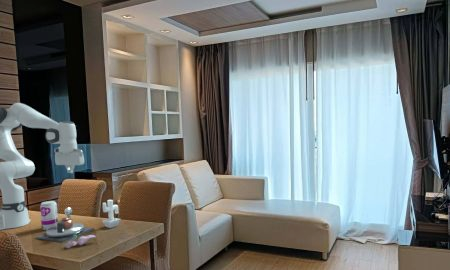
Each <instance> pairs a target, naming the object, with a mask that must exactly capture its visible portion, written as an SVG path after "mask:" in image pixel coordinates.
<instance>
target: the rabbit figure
mask: <svg viewBox="0 0 450 270" xmlns="http://www.w3.org/2000/svg"><path fill="white" fill-rule="evenodd" d="M73 236H74V237H73V238H72V239H70V240H68V241H67V243H64V242H63V244H62V245H61V247H62V250H64V247H65V248H66V249H67V250H68V249H70V248H72V247H75V246H76V245H78V246H83V245H84V244H86V243H87V241H89V240H90V239H92V238H96V235H94V234H89V235H86V236H83V235H81V236H79V238H78V236H77V235H73ZM77 238H78V239H77ZM76 239H77V241H75V240H76Z"/></svg>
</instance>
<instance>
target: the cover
mask: <svg viewBox="0 0 450 270" xmlns="http://www.w3.org/2000/svg"><path fill="white" fill-rule="evenodd" d="M58 222H64V230H67V229H71V228H72V227H73V223H74V222H73V219H72V218H71V219H68V218H67V217H63V218H61V219H59V220H58Z"/></svg>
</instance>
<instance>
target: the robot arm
mask: <svg viewBox="0 0 450 270" xmlns="http://www.w3.org/2000/svg"><path fill="white" fill-rule="evenodd" d="M23 126H25V127H27V128H31V129H45V130H46V132H45V135H44V137H45V140H46V141H47V143H49V144H52V145H56V144H59V146H58V147H56V148H53V149H54V153H55V154H54V163H55V165H56V166H65V169H66V170H67V173H68V174H73V173H74V170H75V166H82V165H84V164H85V157H84V152H83V150H82V149H81V148H78V143H77V129H76V127H77V126H76V125H75V123H74V121H67V120H63V121H62V120H61V121H60V122H58V121H56V120H54V119H53V118H51V117H48V116H46V115H44V114H42V113H41V112H39V111H37V110H36V109H34V108H32V107H31V106H29V105H27V104H25V103H22V102H15V103H13V104H12V105H11V106H10V107H9V108H5V107H0V159H1V160H4V161H0V191H1V198H2V199H1V200H2V203H0V231H2V230H8V229H14V228H20V227H23V226H24V227H25V226H27V225H28V224H30V222H31V221H32V220H31V219H30V215H29V211H28V208H27V207H26V206H27V203H26V200H25V190H24V187H23V186H21V185H19V184H17V183H16V184H15V182H14V179H15V180H17V179H22V178H26V177H30V176H32V175H33V174H34V172H35V170H36V167H35V164H34V162H33V161H32V160H30V159H28V158H26V157H25V156H23V155H22V154H21V153H20V152H19V151H18V150H17V147H16V145H15V143H14V140H13V138H12V133H11V132H15V131H17V130H19V129H20V128H22V127H23Z"/></svg>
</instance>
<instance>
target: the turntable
mask: <svg viewBox="0 0 450 270" xmlns="http://www.w3.org/2000/svg"><path fill="white" fill-rule="evenodd" d="M84 227H85V225H84V223H81V222H73V227H72V228H71V229H67V230H64V222H58V223H57V226H54V227H51V228H49V229H48V230H45V231H46V232H45V233H47V236H48V237H64V236H70V235H73V234H77V233H79V232H81V231H83V230H84Z"/></svg>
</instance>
